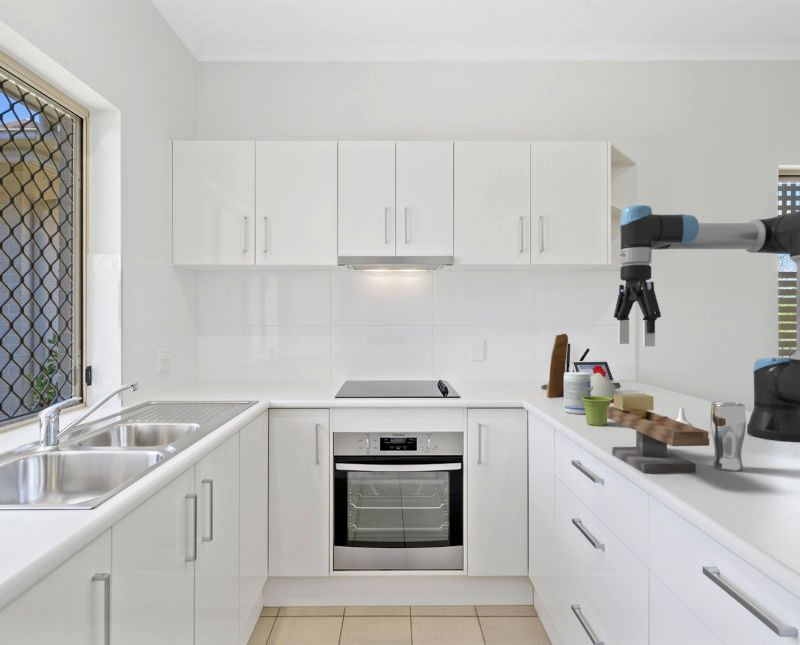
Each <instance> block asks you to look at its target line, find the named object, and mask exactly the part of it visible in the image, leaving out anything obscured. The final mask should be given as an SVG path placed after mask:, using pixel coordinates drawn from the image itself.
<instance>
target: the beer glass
mask: <svg viewBox="0 0 800 645" xmlns="http://www.w3.org/2000/svg"><path fill="white" fill-rule="evenodd" d="M709 420H710V431H711V435H712V436H711V437H712V442H713V446H714V457H713V462H712V467H713V468H714V469H717V470H721V471H726V472H737V473H738V472H742V471H744V464H743V458H742V450H743V445H744V444H743V443H744V439H745V434H746V428H747V425H746V424H747V422H746V420H747V418H746V411H745V404H744V403H739V402H732V401H713V402H711V407H710V419H709Z"/></svg>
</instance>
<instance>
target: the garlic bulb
mask: <svg viewBox="0 0 800 645" xmlns="http://www.w3.org/2000/svg"><path fill="white" fill-rule="evenodd" d="M684 408H685V407H683V406H679V411H678V416H677V419H675V420H676V421H679V422H682V423H685V424H688V425H691V426H693V424H692V423H691V422H690V421H688V420H687V419H686V414H685V409H684Z"/></svg>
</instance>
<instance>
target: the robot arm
mask: <svg viewBox="0 0 800 645" xmlns="http://www.w3.org/2000/svg"><path fill="white" fill-rule="evenodd" d="M619 227H620V252H619V256H620V264H621V265H622V266H621V267H620V272H619V275H620V280H621V281H623V282H625V284H619V286H618V287H619V288H618V297H617V301H616V304H615V309H614V314H613V318H615V319H616V320H617V322H618V324H617V330H618V332H617V335H618V336H617V337H618V338H617V339H618V340H617V342H618V343H617V344H619V345H626V344H627V345H629V344H630V317H629V316H630V313H631V311H632V308H633V306H634V303H636V302H637V304H638V305H639V308H640V310H641V312H642V316H643V318H642V338H643V339H642V347H655V346H656V321H657V319H659V318H661V316H662V313H661V311H660V310H661V309H660V306H659V303H658V300H657V295H656V291H655V283H654V281H648V280H651V279H652V266H651V265H650V264H652V250H745V251H746V252H748V253H754V254H756V253H761V254H763V253H764V254H775V255H777V254H778V255H779V254H780V255H789V259H790V260H791V261H792V262H793V263H795V264H796V351H795V352H794V353H793V354H792V355H791V356H790V357H768V358H767V357H766V358H759V359H757V360H755V361H754V366H753V370H752V372H753V410H752V412H751V414H750V418H749V421H748V423H747V425H746V433H747V434H748V435H750V436H754V437H756V438H762V439H767V440H774V441H785V442H800V210H797V211H792V212H788V213H785V214H782V215H777V216H775V217H774V216H773V217H770V218H769V217H768V218H763V219H751V220H750V221H748V222H717V223H716V222H705V223H703V222H699V221H698V218H697V217H696V216H694V215H693V214H684V213H681V214H656V213H654V214H653V211H652V207H651V206H650V205H644V204H643V205H641V204H640V205H630V206H627V207H625V208H623V209H622V210H621V213H620V224H619Z"/></svg>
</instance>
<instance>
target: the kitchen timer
mask: <svg viewBox="0 0 800 645" xmlns="http://www.w3.org/2000/svg"><path fill="white" fill-rule="evenodd" d="M592 371H593V372H592V373H593V374H592V375H590V377H591V396H600V397H608V398H611V399H612V401H611V402H610V404H614V394H617V391H616V385H615V384H614V383H613V382H612V379H610V378H609V376H608V375H607V371H605V368H603V367H602V365H599V364H598V365H594V367H592Z"/></svg>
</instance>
